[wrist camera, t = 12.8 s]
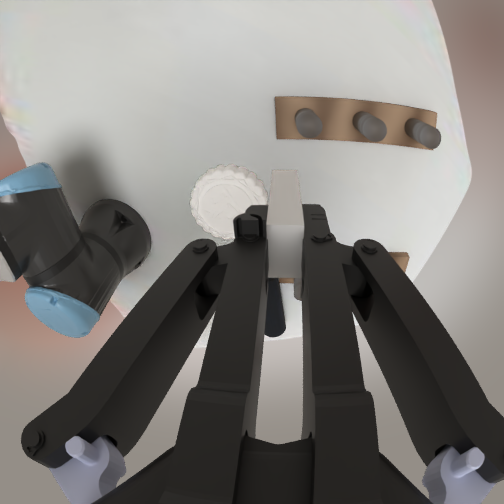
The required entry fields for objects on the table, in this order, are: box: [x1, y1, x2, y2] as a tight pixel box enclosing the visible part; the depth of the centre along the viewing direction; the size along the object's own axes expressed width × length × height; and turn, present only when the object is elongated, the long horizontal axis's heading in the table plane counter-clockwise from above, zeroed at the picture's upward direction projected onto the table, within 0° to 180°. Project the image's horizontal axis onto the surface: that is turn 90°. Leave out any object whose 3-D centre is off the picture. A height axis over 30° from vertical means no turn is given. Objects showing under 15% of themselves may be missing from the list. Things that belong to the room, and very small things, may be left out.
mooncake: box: [189, 164, 268, 240], centre depth 43 cm, size 12×12×4 cm
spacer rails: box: [275, 97, 441, 301], centre depth 39 cm, size 24×32×8 cm
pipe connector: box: [264, 278, 286, 337], centre depth 55 cm, size 12×5×15 cm
